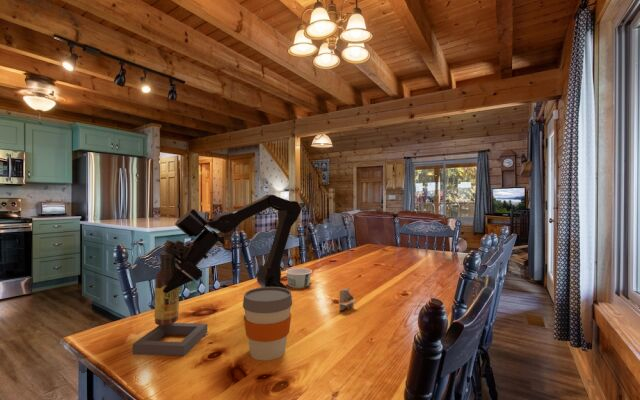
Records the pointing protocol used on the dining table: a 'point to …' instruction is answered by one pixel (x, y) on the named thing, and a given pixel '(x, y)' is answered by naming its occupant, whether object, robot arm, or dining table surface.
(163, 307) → the sauce bottle
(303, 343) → the dining table surface
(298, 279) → the food container
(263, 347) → the reusable coffee cup
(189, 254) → the robot arm
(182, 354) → the grey square frame
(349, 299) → the architectural model
